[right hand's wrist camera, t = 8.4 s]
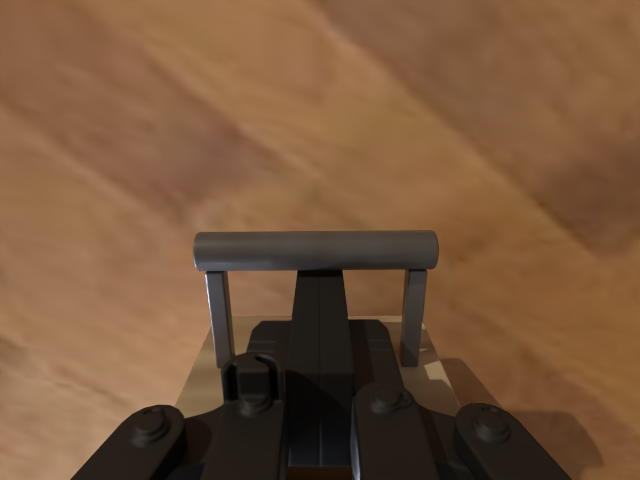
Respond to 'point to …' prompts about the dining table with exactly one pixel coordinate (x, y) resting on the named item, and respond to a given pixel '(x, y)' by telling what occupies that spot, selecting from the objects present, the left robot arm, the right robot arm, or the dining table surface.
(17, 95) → the dining table surface
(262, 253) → the drawer
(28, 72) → the dining table surface
